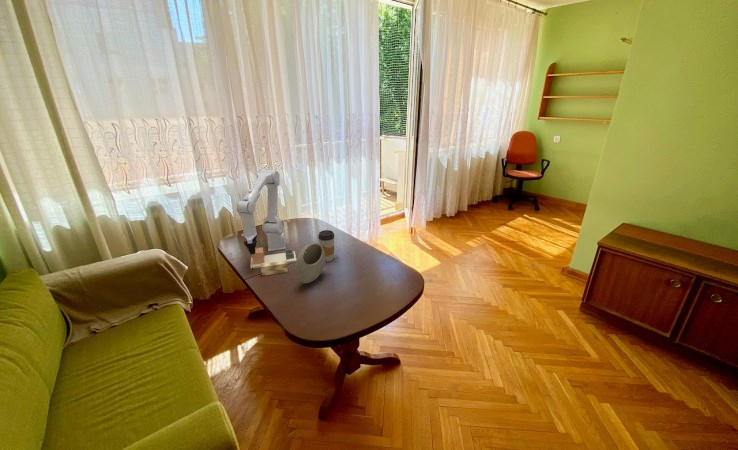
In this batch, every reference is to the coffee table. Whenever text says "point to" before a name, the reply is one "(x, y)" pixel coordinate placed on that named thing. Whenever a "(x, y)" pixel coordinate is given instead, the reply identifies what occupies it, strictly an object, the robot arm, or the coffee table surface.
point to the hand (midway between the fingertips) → (253, 250)
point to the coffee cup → (327, 243)
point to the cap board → (277, 258)
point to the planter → (310, 263)
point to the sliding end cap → (258, 256)
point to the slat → (274, 267)
